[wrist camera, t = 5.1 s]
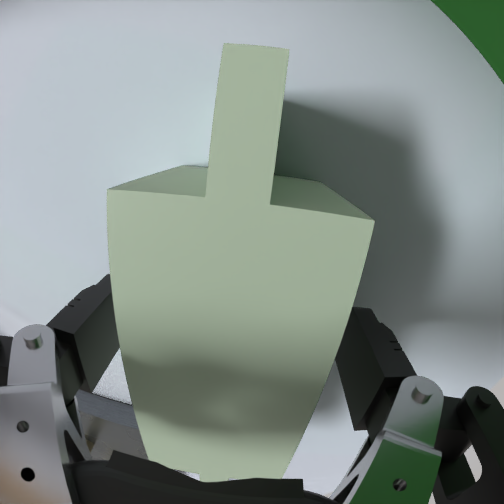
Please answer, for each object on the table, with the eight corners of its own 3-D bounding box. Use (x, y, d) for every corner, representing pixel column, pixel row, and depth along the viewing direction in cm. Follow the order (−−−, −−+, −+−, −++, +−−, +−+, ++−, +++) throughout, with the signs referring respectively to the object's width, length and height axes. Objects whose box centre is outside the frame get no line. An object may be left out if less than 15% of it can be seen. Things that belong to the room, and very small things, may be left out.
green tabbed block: (189, 91, 8) (121, 47, 4) (330, 107, 8) (395, 75, 4) (180, 406, 13) (159, 487, 9) (268, 417, 13) (268, 502, 9)
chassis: (0, 354, 13) (-55, 421, 6) (150, 410, 14) (111, 526, 7) (77, 479, 21) (58, 525, 14) (177, 510, 21) (167, 565, 14)
